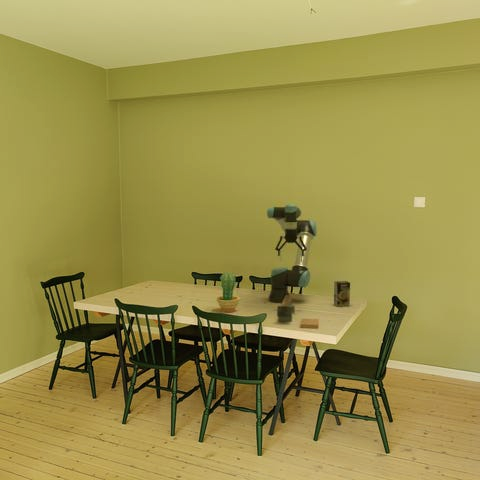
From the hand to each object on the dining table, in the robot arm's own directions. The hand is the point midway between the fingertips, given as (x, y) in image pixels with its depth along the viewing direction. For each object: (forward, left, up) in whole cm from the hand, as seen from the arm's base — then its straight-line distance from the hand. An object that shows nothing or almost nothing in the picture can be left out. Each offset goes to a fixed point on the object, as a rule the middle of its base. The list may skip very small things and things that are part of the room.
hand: (290, 261), depth 304 cm
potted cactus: (-40, -10, -32) cm, 52 cm away
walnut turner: (-1, -18, -28) cm, 33 cm away
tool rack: (-1, -18, -32) cm, 36 cm away
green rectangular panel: (+14, -29, -31) cm, 45 cm away
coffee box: (+33, +14, -32) cm, 48 cm away
